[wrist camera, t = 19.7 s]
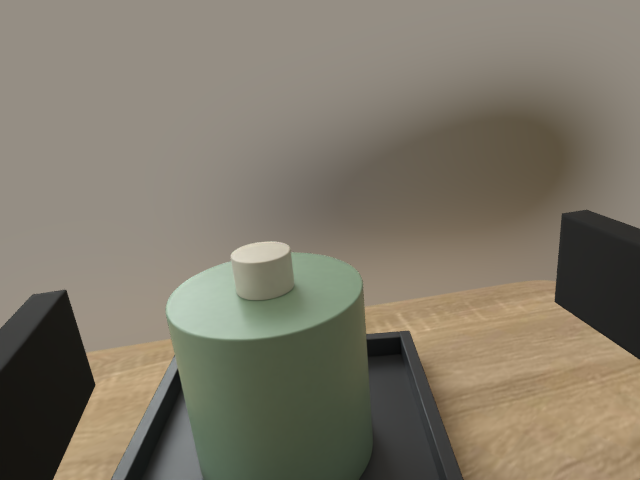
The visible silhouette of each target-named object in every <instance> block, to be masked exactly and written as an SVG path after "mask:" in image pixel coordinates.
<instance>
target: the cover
mask: <svg viewBox="0 0 640 480" xmlns="http://www.w3.org/2000/svg"><path fill="white" fill-rule="evenodd" d="M166 316H167V321H168V326H169V330H170V335H171V339H172V344H173V348H174V353H175V357H176V362H177V366H178V371H179V375H180V380H181V384H182V389H183V393H184V398H185V402H186V407H187V411H188V416H189V420H190V425H191V429H192V434H193V438H194V443H195V447H196V452H197V456H198V460H199V465H200V469H201V474H202V477H203V480H359V478H360V477H361V475H362V474H363V472H364V471H365V469H366V467H367V465H368V463H369V460H370V457H371V454H372V448H373V435H372V419H371V403H370V388H369V372H368V356H367V341H366V325H365V309H364V294H363V281H362V278H361V276H360V274H359V273H358V271H357V270H356V269H354V268H353V267H352V266H350V265H349V264H347V263H346V262H343V261H341V260H339V259H335V258H332V257H328V256H324V255H318V254H310V253H291V250H290V247H289V246H288V245H287V244H284V243H281V242H258V243H253V244H249V245H246V246H243V247H241V248H238V249H236V250H235V251H234V252H233V253H232V254H231V261H230V262H227V263H224V264H221V265H218V266H215V267H213V268H210V269H208V270H205V271H203V272H201V273H199V274H197V275H195V276H193V277H192V278H190V279H188V280H187V281H185V282H184V283H183V284H181V285H180V286H179V287H178V288H177V289H176V290H175V291H174V292H173V293H172V295H171V296H170V297H169V299H168V302H167V305H166Z"/></svg>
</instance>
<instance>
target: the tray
mask: <svg viewBox="0 0 640 480" xmlns="http://www.w3.org/2000/svg"><path fill="white" fill-rule="evenodd" d="M366 341H367V356H368V372H369V388H370V403H371V419H372V435H373V448H372V454H371V457H370V460H369V463H368V465H367V467H366V469H365V471H364V472H363V474H362V475H361V477H360V478H359V480H463V477H462V474H461V471H460V469H459V466H458V463H457V460H456V458H455V455H454V452H453V449H452V447H451V444H450V441H449V438H448V436H447V433H446V430H445V427H444V425H443V422H442V419H441V416H440V414H439V411H438V408H437V405H436V403H435V400H434V397H433V394H432V392H431V389H430V386H429V383H428V381H427V378H426V375H425V372H424V370H423V367H422V364H421V361H420V359H419V356H418V353H417V351H416V348H415V345H414V342H413V340H412V337H411V334H410V331H400V332H387V333H374V334H366ZM111 480H203V477H202V474H201V469H200V465H199V460H198V456H197V452H196V447H195V443H194V438H193V434H192V429H191V425H190V420H189V416H188V411H187V407H186V402H185V398H184V393H183V389H182V384H181V380H180V375H179V371H178V366H177V362H176V357H175V355H174V357H173V359H172V361H171V363H170V365H169V367H168V369H167V371H166V373H165V375H164V377H163V379H162V381H161V383H160V385H159V387H158V388H157V390H156V392H155V394H154V396H153V398H152V400H151V402H150V404H149V406H148V408H147V410H146V412H145V414H144V416H143V418H142V420H141V422H140V424H139V426H138V428H137V430H136V432H135V433H134V435H133V437H132V439H131V441H130V443H129V445H128V447H127V449H126V451H125V453H124V455H123V457H122V459H121V461H120V463H119V465H118V467H117V469H116V471H115V473H114V475H113V477H112V478H111Z"/></svg>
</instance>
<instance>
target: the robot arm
mask: <svg viewBox="0 0 640 480" xmlns="http://www.w3.org/2000/svg"><path fill="white" fill-rule="evenodd" d="M555 302H556V303H557V304H559V305H560V306H561V307H563V308H564V309H566V310H567V311H569V312H570V313H572V314H573V315H575V316H576V317H578V318H579V319H581V320H582V321H584V322H585V323H587V324H588V325H589V326H591V327H592V328H594V329H595V330H597V331H598V332H600V333H601V334H603V335H604V336H606V337H607V338H609V339H610V340H612V341H613V342H615V343H616V344H617V345H619V346H620V347H622V348H623V349H625V350H626V351H628V352H629V353H631V354H632V355H634V356H635V357H637V358H638V359H640V229H639V228H636V227H633V226H631V225H627V224H625V223H622V222H619V221H616V220H614V219H611V218H608V217H605V216H602V215H600V214H597V213H594V212H591V211H589V210H583V211H576V212H569V213H563V214H562V220H561V232H560V244H559V255H558V268H557V279H556V291H555ZM94 387H95V382H94V379H93V375H92V372H91V369H90V366H89V362H88V359H87V356H86V353H85V349H84V346H83V343H82V340H81V337H80V333H79V330H78V327H77V323H76V320H75V317H74V313H73V310H72V307H71V304H70V301H69V297H68V294H67V291H66V290H61V291H54V292H47V293H41V294H34V295H32V296H31V297H30V298H29V299H28V300H27V301H26V302H25V303H24V304H23V305H22V306H21V307H20V308H19V309H18V310H17V312H16V313H15V314H14V315H13V316H12V317H11V318H10V319H9V320H8V321H7V322H6V323H5V325H4V326H2V327H1V329H0V480H53V478H54V476H55V474H56V472H57V469H58V467H59V465H60V463H61V460H62V458H63V456H64V454H65V452H66V449H67V447H68V445H69V443H70V440H71V438H72V436H73V434H74V432H75V429H76V427H77V425H78V423H79V421H80V418H81V416H82V414H83V412H84V409H85V407H86V405H87V403H88V401H89V398H90V396H91V394H92V392H93V389H94Z"/></svg>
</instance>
